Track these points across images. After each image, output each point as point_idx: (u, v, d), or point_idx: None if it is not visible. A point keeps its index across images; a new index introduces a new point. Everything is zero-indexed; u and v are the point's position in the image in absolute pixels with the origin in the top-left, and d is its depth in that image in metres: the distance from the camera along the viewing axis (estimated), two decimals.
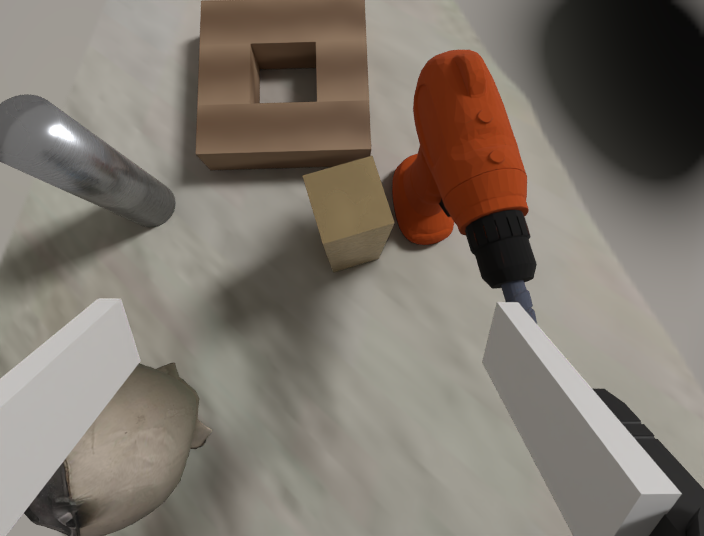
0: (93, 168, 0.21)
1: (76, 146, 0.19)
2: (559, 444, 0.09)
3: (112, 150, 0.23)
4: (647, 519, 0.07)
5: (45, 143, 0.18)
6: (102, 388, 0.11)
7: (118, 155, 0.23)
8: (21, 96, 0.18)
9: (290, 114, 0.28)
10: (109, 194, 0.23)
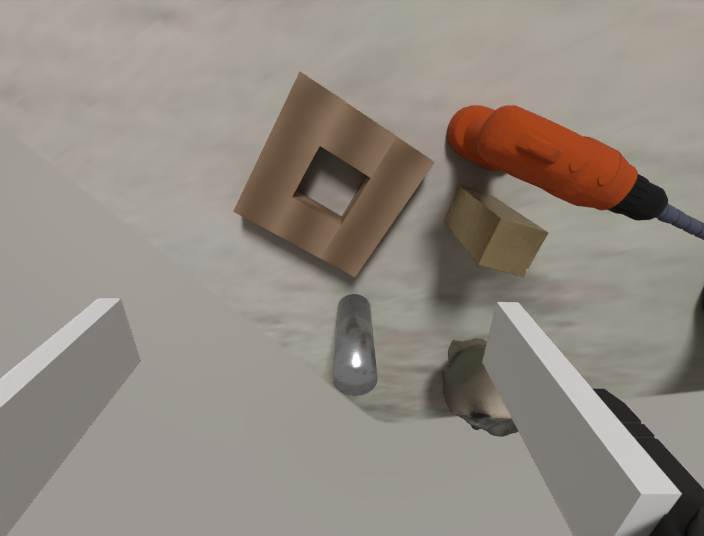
0: (372, 350, 0.34)
1: (369, 358, 0.32)
2: (559, 444, 0.09)
3: (355, 333, 0.34)
4: (647, 519, 0.07)
5: (370, 373, 0.31)
6: (102, 388, 0.11)
7: (356, 329, 0.35)
8: (336, 372, 0.31)
9: (367, 203, 0.34)
10: None
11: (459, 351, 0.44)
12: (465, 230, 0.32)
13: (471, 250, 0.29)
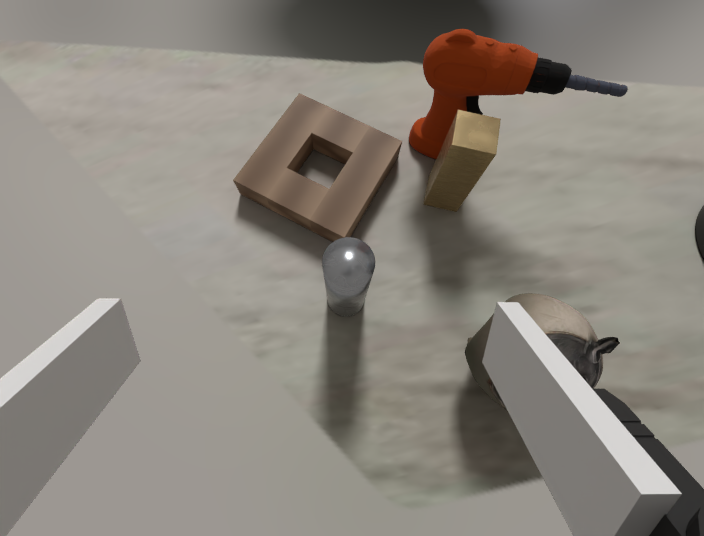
0: None
1: None
2: (559, 444, 0.09)
3: None
4: (647, 519, 0.07)
5: (366, 252, 0.26)
6: (102, 388, 0.11)
7: None
8: (325, 252, 0.26)
9: (352, 170, 0.39)
10: None
11: None
12: (438, 166, 0.36)
13: (445, 156, 0.33)
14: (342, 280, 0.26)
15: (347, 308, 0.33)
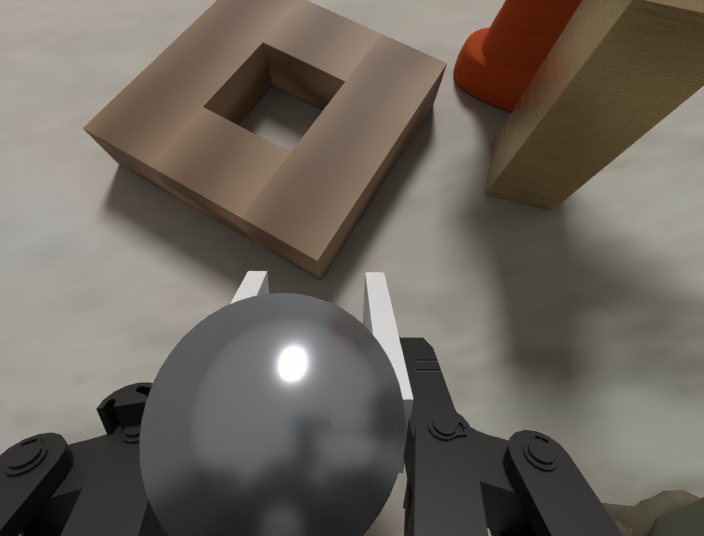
0: None
1: None
2: None
3: None
4: None
5: (365, 371, 0.06)
6: None
7: None
8: (166, 368, 0.05)
9: (341, 116, 0.18)
10: None
11: None
12: (542, 100, 0.15)
13: (585, 56, 0.12)
14: (231, 533, 0.05)
15: None
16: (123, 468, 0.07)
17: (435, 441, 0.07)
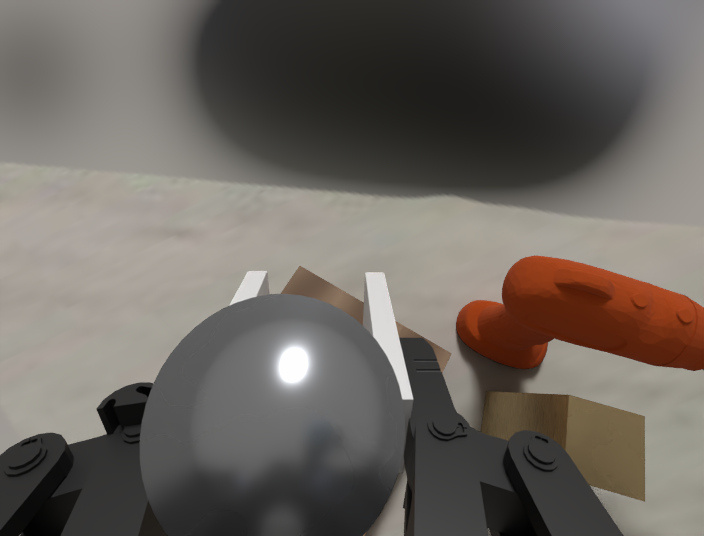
0: None
1: None
2: None
3: None
4: None
5: (364, 373, 0.06)
6: None
7: None
8: (166, 369, 0.05)
9: None
10: None
11: None
12: None
13: None
14: (231, 534, 0.05)
15: None
16: (123, 468, 0.07)
17: (435, 441, 0.07)
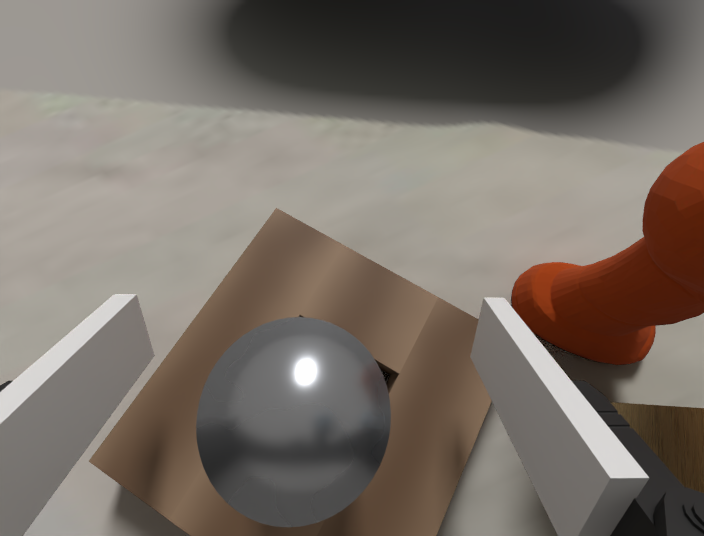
0: None
1: None
2: (538, 434, 0.09)
3: None
4: (617, 503, 0.07)
5: (361, 377, 0.07)
6: (119, 381, 0.11)
7: None
8: (213, 375, 0.07)
9: (397, 430, 0.15)
10: None
11: None
12: None
13: None
14: (264, 494, 0.07)
15: None
16: None
17: (696, 532, 0.06)
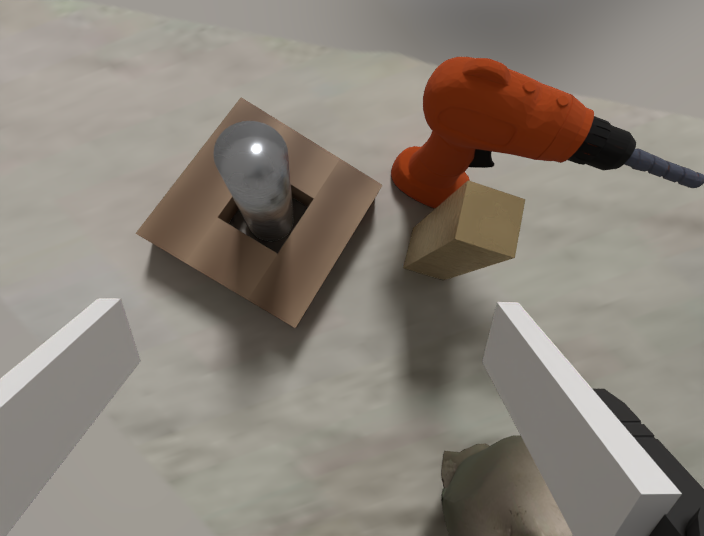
0: None
1: None
2: (559, 444, 0.09)
3: None
4: (647, 519, 0.07)
5: (277, 144, 0.19)
6: (102, 388, 0.11)
7: None
8: (218, 139, 0.19)
9: (311, 226, 0.28)
10: None
11: None
12: (429, 240, 0.26)
13: (442, 242, 0.23)
14: (240, 178, 0.19)
15: (264, 228, 0.26)
16: None
17: None
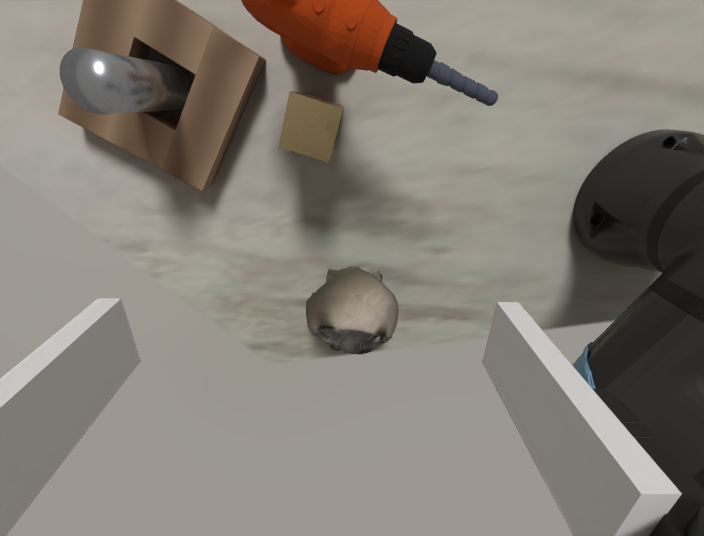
0: (135, 68, 0.25)
1: (115, 58, 0.24)
2: (559, 444, 0.09)
3: None
4: (647, 519, 0.07)
5: (109, 70, 0.23)
6: (102, 388, 0.11)
7: None
8: (61, 68, 0.23)
9: (198, 104, 0.32)
10: (158, 84, 0.28)
11: None
12: None
13: None
14: (91, 105, 0.24)
15: None
16: None
17: None
